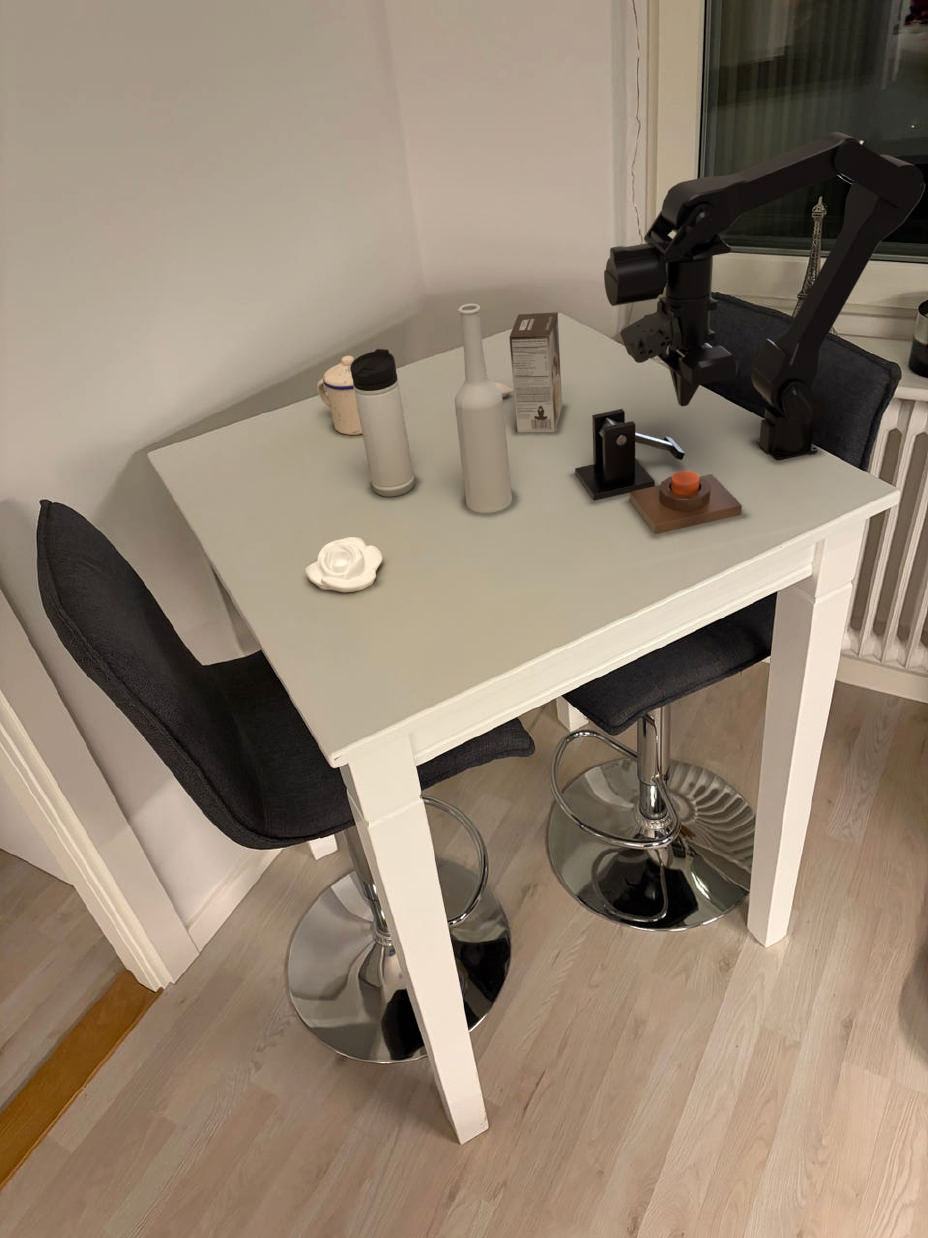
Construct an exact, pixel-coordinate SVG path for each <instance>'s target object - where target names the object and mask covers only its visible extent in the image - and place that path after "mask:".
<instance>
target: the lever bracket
mask: <svg viewBox="0 0 928 1238" xmlns="http://www.w3.org/2000/svg"><path fill="white" fill-rule="evenodd" d="M625 414H626V412H625V410H624V409H623V408H620V409H615V410H609V411H606V412H605V411H604V412H601V413H595V414H592V415H591V416H592V418H591V419H592V420H591V421H592V422H591V423H592V458H593V459H592V460H593V461H592V462H593V464H589V465H584V466H580V467H576V468H574V474H575V477H577V479H578V480H579V482H580V483H581V485H582V486H583V488H584V489H585V490H586V492H587V493H588V495H589V497H590V498H591V499H592V500H593V501H599V500H604V499H609V498H613V497H617V496H622V495H626V494H630V492H632V491H636V490H641V489H645V488H650V487H654V486H656V481H655V479H654V478H653V477H652V476H651V474H650V473H648V471H647V470H646V468H644V466H643V465H642V463H640V462H639V460H638V459H637V458H636V442H635V433H636V422H634V420H630V421H626V415H625ZM606 418H609V419H612V420H616V421H619V422H623V423H621V424H616V425H612V426H607V427H603V428H602V426H603V424H604V422H605V419H606ZM601 428H602V431H603V437H602V436H601V435H600V434H599V432H600V430H601Z"/></svg>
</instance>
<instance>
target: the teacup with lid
mask: <svg viewBox="0 0 928 1238" xmlns="http://www.w3.org/2000/svg"><path fill="white" fill-rule="evenodd" d="M354 360H355V358H354V357H353V356H352V355H344V356H343V357H341V362H339V363H338V364H337V365H336V364H335V365H334V366H331V367H330V368H329V369H328V370H326V371H325V372H324V374H323V377H322V378H321V379H320V380H319V381H318V382H317V383H316V384H317V385H316V390H317V394H318V396H319V398H320V400H321V401H322V403H324V404H325V405H326V406H327V407H329V408H330V413H331V416H332V422H333V426H334V429H335V430H336V431H337V432H338V433H341V434H342V435H348V436H354V435H355V436H357V435H358V436H359V435H363V433H362V428H361V423H360V418H359V413H358V408H357V403H356V397H355V392H354V387H353V379H352V375H351V370H350V366H351V363H352V362H353V361H354ZM324 386H325V388H326V391H325V388H324Z"/></svg>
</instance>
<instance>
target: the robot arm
mask: <svg viewBox="0 0 928 1238" xmlns="http://www.w3.org/2000/svg"><path fill="white" fill-rule="evenodd" d="M836 176H837V177H840V178H841V179H842V180H843V181H846V182H847V183H849V184H850V185H851V186H850V188H849V191H848V193H847V196H846V199H845V206H844V217H843V225H842V228H841V229H840V230H841V231H840V232H839V234H838V236H837V238H836V240H835V242H834V244H833V245H832V248H831V249H830V251H829V253H828V255H827V257H826V259H825V261H824V262H823V264H822V266H821V268H820V269H819V272H818V274H817V275H816V277H815V279H814V281H813V283H812V285H811V287H810V289H809V291H808V292H807V294H806V296H805V298H804V300H803V301H802V304H801V305H800V307H799V309H798V311H797V313H796V315H795V317H794V319H793V320H792V323H791V324H790V327H789V328H788V330H787V331H786V332H785V334H783V335H782V336H781V337H780V338H778V339H777V340H776V341H772V340H770V339H768V338H767V339H765V340H764V342H763V343H762V345H761V348H760V351H759V354H758V355H757V357H756V358H755V359H754V361H753V362H752V363H751V364H750V366H751V367H753V368H752V371H751V376H750V379H751V382H752V385H753V387H754V388H755V390H756V391H757V392H758V393H759V394H760V395H761V396H762V399H763V400H764V401H766V402H768V404H769V405H770V406H767V407H765V409H764V410H765V411H764V418H762V419H761V421H760V430H759V431H760V432H759V437H758V438H756V441H755V442H756V444H757V445H758V446H759V447H760V448H762V449H763V450H764V451H765V453H767V454H768V455H769V456H770V457H771V458H773V459H774V460H775V461H777V462H778V461H784V460H788V459H792V458H793V459H794V458H797V457H803V456H806V455H812V454H816V453H818V450H819V448H818V447H817V446H816V445H815V444H814V443H813V440H814V434H815V425H816V420H817V419H821V417H822V416H823V414H824V411H825V409H826V408H827V403H826V402H825V401H824V400H823V399H822V398H821V397H819V396H818V395H817V394H816V393H815V392H814V391H813V390H812V389H813V387H814V383H815V381H816V379H817V376H818V373H819V364H820V353H821V348H822V346H823V344H824V342H825V341H826V339H827V337H828V335H829V333H830V331H831V329H832V328H833V326H834V324H835V323H836V321H837V319H838V317H839V316H840V314H841V312H842V310H843V309H844V307H845V305H846V302H847V301H848V300H849V298H850V296H851V294H852V293H853V291H854V289H855V287H856V285H857V283H858V281H859V280H860V278H861V276H862V274H863V272H864V271H865V269H866V267H867V265H868V263H869V262H870V260H871V258H872V256H873V254H874V253H875V251H876V249H877V247H878V246H879V244H880V243H881V242H882V241H883V240H884V239H885V238H887V237H889V236H890V234H892V233H893V232H894V231H896V230H897V229H898V228H899V227H901V226H902V225H903V224H904V223H905V221H906V219H907V218H908V217H909V216H910V214H911V213H912V212H913V210H914V209H915V207H916V206H917V205H918V203H919V202H920V200H921V199H922V196H923V194H924V192H925V188H926V182H925V179H924V174H923V172H922V170H921V169H920V168H919V167H918V166H916V165H915V164H912V163H909V162H907V161H904V160H902V159H899V158H897V157H894V156H892V155H887V154H878V153H876V152H874V151H873V150H871V149H869V148H868V147H866V146H864V145H863V144H861V142H860V141H859V140H858V139H857V138H855V137H853V136H850V135H847V134H844V133H842V132H839V131H833V132H829V133H827V134H825V135H824V136H822V137H821V138H820V139H817V140H814V141H813V142H810V143H808V144H805V145H803V146H800V147H797V148H795V149H793V150H790V151H788V152H786V153H785V152H784V153H783V154H781V155H777V156H775V157H773V158H771V159H768V160H765V161H763V162H760V163H758V164H755V165H753V166H751V167H748V168H746V169H743V170H740V171H738V172H736V173H735V172H734V173H732V174H726V175H716V176H704V177H703V176H702V177H697V178H694V179H690V180H685V181H681V182H678V183H676V184H674V185H673V186H671V188H670V189H668V191H667V194H666V195H665V197H664V199H663V202H662V206H661V210H660V212H659V213H658V215H657V217H656V218H655V219H654V221H653V223H652V224H651V226H650V227H649V229H648V230H647V232H646V234H645V235H644V237H643V241H644V242H645V243H641V244H637V245H636V244H635V245H629V246H623V245H619V246H613V247H611V248H609V257H608V259H607V260H606V265H605V269H604V270H603V281H604V290H605V294H606V298H607V300H608V301H607V302H608V303H609V304H610V306H611V307H617V306H622V305H627V304H634V303H639V302H644V301H651V300H656V299H658V298H659V300H658V301H657V303H656V311H655V312H653V313H649V314H645V315H644V316H643V317H642V318H640V319H638V320H636V321H634V322H633V323H631V324H629V325H628V326H626V327H624V328H622V330H621V331H620V333H619V334H620V337H621V340H622V342H623V345H624V348H625V350H626V353H627V354H628V355H629V356H630V357H631V358H633V360H634V361H635V362H636V363H638V364H641V363H645V362H646V361H649V360H650V359H654V358H655V357H657V358H659V359H660V360H661V361H662V362H663V363H664V364H666V365H667V367H668V370H669V373H670V376H671V380H672V384H673V388H674V392H675V396H676V399H677V404H678V406H680V407H686V406H687V407H688V406H689V404H690V403H691V401H692V399H693V397H694V396H695V394H696V392H697V390H698V388H699V387H700V385H705V384H709V383H713V382H718V381H724V380H728V379H734V378H736V377H737V376H738V373H739V359H738V358H737V357H735V356H734V355H733V354H731V353H730V352H729V351H728V350H727V349H725V348H724V347H723V346H722V345H715V346H712V345H710V344H709V342H710V343H711V342H715V339H716V333H715V332H714V331H713V330H711V328H710V322H711V321H710V320H711V311H716V310H717V308H718V307H717V306H718V301H717V300H716V299H714V298H713V297H712V288H713V270H714V269H713V267H714V256H719V255H725V254H729V253H731V251H732V248H731V246H730V245H728V244H727V243H725V241H724V240H723V239H722V237H721V235H720V233H722V232H724V231H725V230H727V229H729V228H730V227H731V226H732V225H733V224H734V223H735V222H736V221H737V220H738V219H739V218H740V217H742V215H745V214H746V213H747V212H749V211H752V210H754V209H756V208H758V207H761V206H763V205H766V204H768V203H770V202H774V201H776V200H778V199H781V198H783V197H786V196H788V195H791V194H793V193H796V192H798V191H801V190H803V189H806V188H808V187H810V186H813V185H816V184H818V183H821V182H823V181H826V180H828V179H831V178H834V177H836ZM672 232H674V233H675V235H674V236H673V237H671V236H670V234H671V233H672ZM663 294H665V295H664V297H663V296H662V295H663ZM659 296H662V297H659Z"/></svg>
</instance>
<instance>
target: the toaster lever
mask: <svg viewBox="0 0 928 1238" xmlns="http://www.w3.org/2000/svg"><path fill="white" fill-rule="evenodd" d="M621 423H623V422H619V421H616V420H612V419H609V418H606V419H605V422H604V424H603V426H602V428H603V427H607V426H612V425H616V424H621ZM602 428H601V430H600V432H599V434H600V435H601V436H602V437H603V431H602ZM635 443H637V444H641V445H644V446H647V447H651V448H655V449H659V450H662V451H665V452H669V454H671V456H673V457H674V458H675V459H676V460H679V461H682V460H683V459H684V457H685V456H686V452H685V451H684V450H683V449H682V448H681V447H680V446H679V444H677V442H675V441H674V439H673V438H671V437H670V436H664V438H663V439H660V438H655V437H652V436H649V435H645V434H642V433H639V432H635Z"/></svg>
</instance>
